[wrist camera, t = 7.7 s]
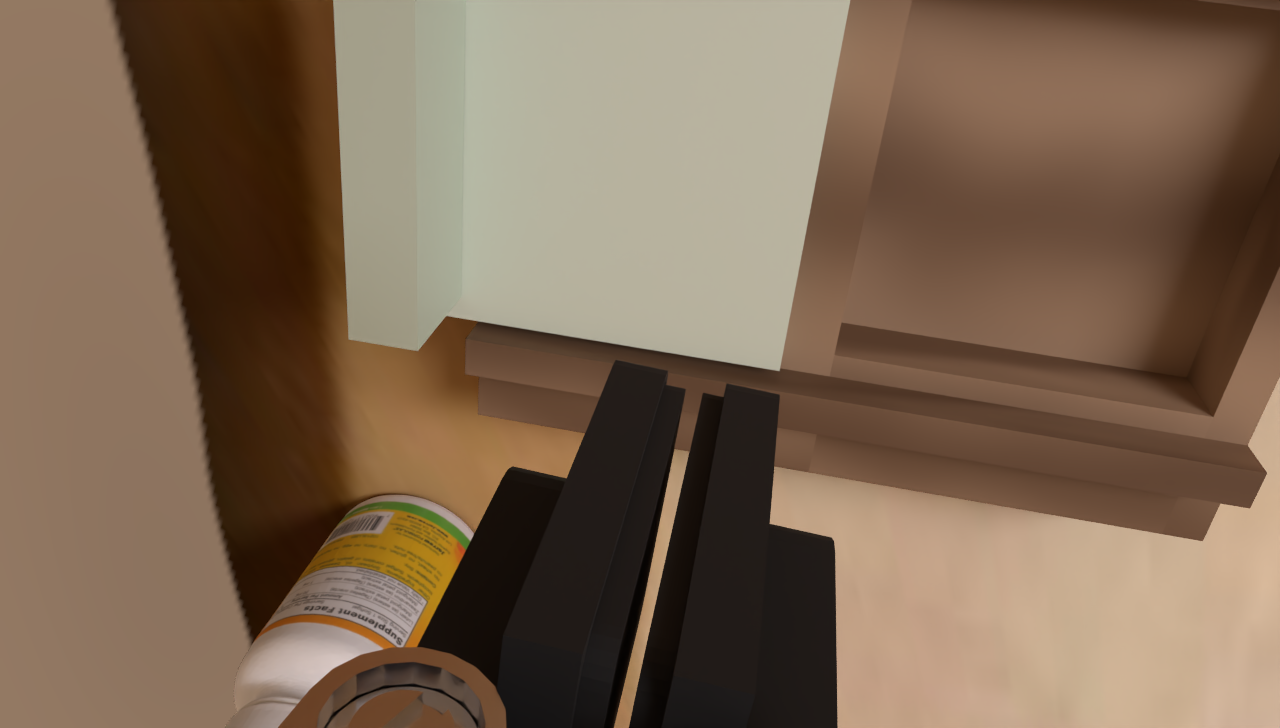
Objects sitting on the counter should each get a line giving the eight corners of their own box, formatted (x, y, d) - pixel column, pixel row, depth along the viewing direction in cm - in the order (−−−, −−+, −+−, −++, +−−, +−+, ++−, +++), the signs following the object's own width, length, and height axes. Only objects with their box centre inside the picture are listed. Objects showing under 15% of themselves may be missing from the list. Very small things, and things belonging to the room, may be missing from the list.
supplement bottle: (460, 638, 35) (344, 891, 27) (321, 574, 35) (159, 809, 26) (514, 534, 33) (405, 777, 24) (364, 463, 32) (200, 684, 24)
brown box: (535, -268, 22) (477, -291, 18) (1444, -172, 20) (1583, -176, 16) (508, 364, 30) (463, 437, 26) (1166, 475, 28) (1219, 571, 24)
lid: (387, -116, 21) (307, -109, 18) (859, -58, 20) (866, -40, 17) (395, 294, 26) (333, 360, 22) (780, 357, 25) (773, 435, 21)
